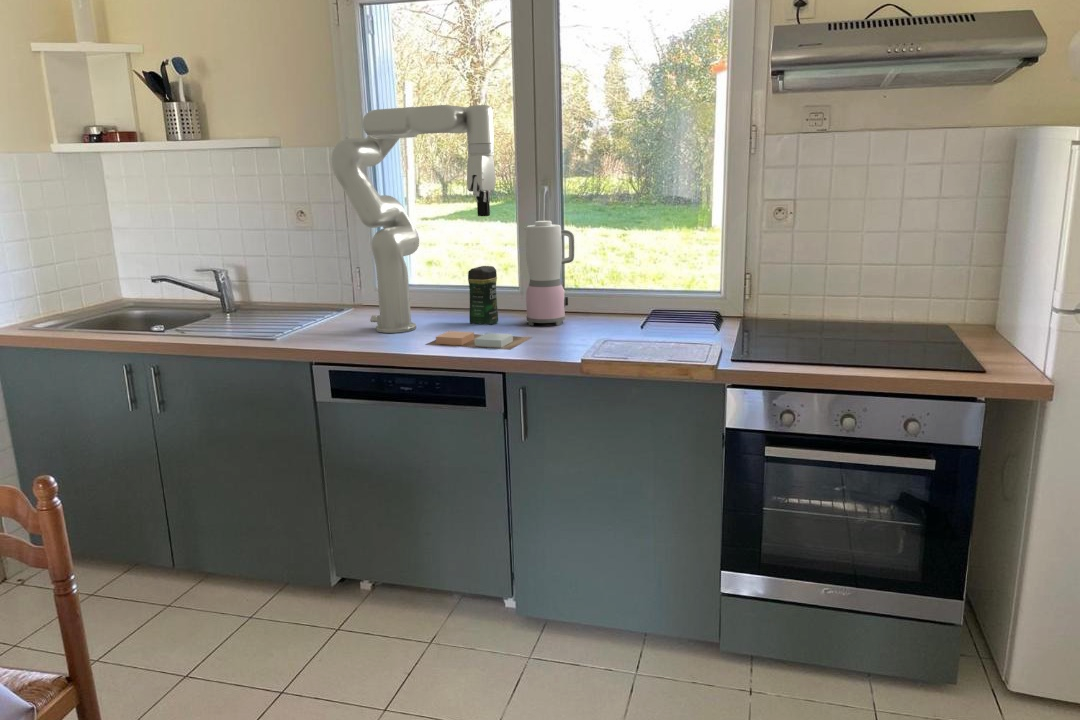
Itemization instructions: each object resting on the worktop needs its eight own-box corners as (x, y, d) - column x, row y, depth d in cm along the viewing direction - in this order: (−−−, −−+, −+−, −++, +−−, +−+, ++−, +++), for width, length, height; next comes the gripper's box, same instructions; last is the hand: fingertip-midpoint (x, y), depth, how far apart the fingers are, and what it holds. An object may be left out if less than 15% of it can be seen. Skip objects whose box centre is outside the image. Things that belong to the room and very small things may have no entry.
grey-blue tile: (487, 340, 232) (474, 346, 224) (486, 333, 231) (474, 338, 224) (513, 341, 229) (501, 348, 222) (512, 334, 228) (501, 340, 221)
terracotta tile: (449, 338, 236) (436, 344, 229) (449, 331, 235) (435, 336, 228) (474, 339, 233) (461, 345, 226) (474, 332, 233) (461, 338, 225)
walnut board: (425, 347, 229) (425, 344, 229) (451, 336, 244) (451, 332, 243) (510, 353, 220) (510, 349, 220) (532, 340, 234) (532, 337, 234)
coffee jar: (488, 328, 254) (485, 268, 250) (466, 326, 258) (463, 267, 253) (502, 322, 263) (500, 264, 258) (481, 320, 266) (478, 264, 262)
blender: (525, 327, 253) (522, 223, 246) (526, 319, 265) (523, 220, 258) (576, 326, 253) (574, 221, 246) (574, 318, 265) (573, 219, 258)
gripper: (480, 151, 240) (483, 214, 244) (457, 151, 227) (460, 218, 231) (503, 150, 237) (506, 214, 242) (481, 150, 224) (484, 218, 228)
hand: (483, 215), depth 236 cm, fingers closed
